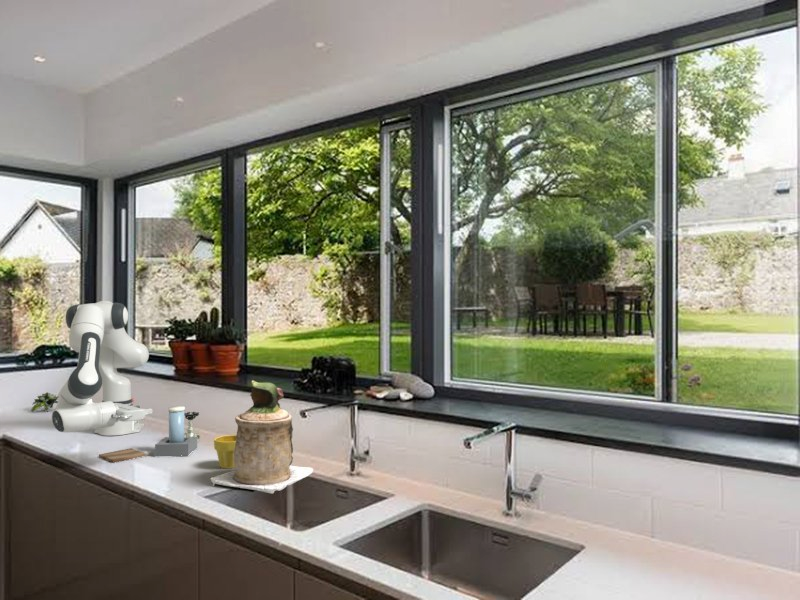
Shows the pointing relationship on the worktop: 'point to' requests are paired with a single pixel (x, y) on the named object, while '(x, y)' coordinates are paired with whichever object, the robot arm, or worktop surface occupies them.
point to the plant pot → (225, 450)
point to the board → (122, 455)
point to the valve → (190, 429)
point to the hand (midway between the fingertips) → (145, 409)
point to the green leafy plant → (45, 401)
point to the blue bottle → (176, 424)
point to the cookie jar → (263, 445)
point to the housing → (175, 447)
